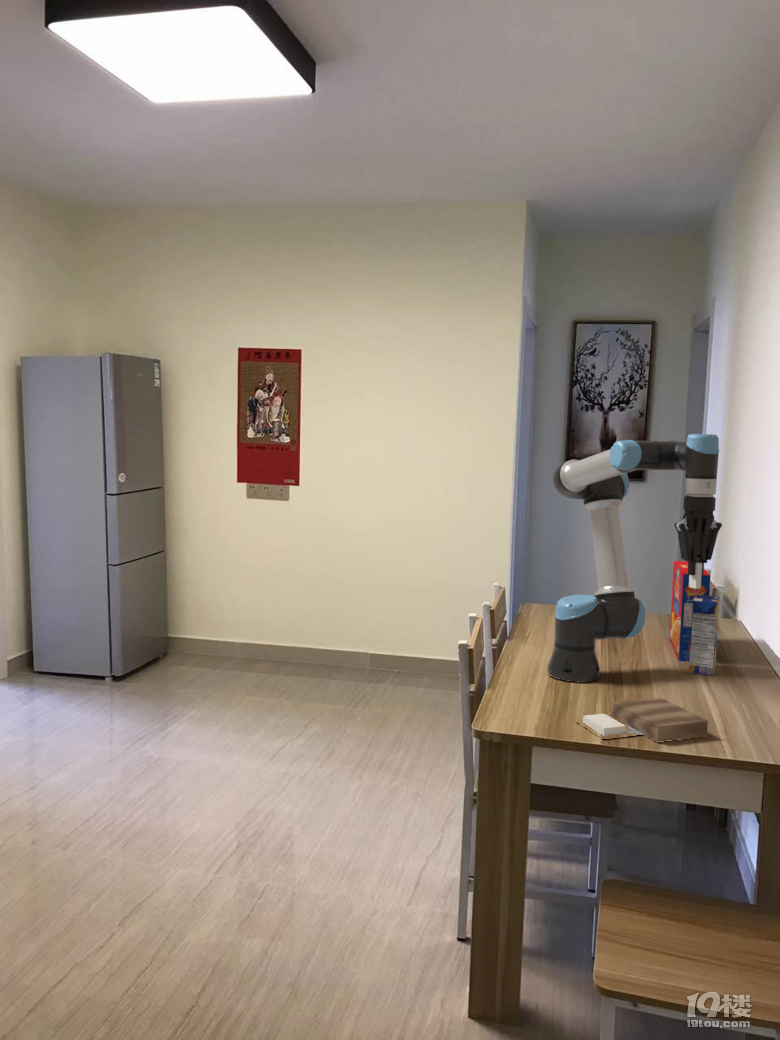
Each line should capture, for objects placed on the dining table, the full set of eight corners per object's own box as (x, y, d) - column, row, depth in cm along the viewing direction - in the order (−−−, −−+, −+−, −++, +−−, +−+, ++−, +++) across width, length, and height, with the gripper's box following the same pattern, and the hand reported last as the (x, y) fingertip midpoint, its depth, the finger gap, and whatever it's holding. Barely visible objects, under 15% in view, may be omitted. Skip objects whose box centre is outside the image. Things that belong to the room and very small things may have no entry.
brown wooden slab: (612, 717, 209) (613, 702, 208) (659, 712, 213) (660, 697, 213) (657, 743, 192) (658, 726, 191) (706, 737, 196) (707, 720, 196)
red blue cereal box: (669, 639, 290) (673, 561, 287) (693, 641, 288) (698, 562, 285) (678, 661, 263) (683, 574, 260) (705, 663, 261) (710, 575, 258)
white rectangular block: (604, 713, 205) (603, 721, 205) (583, 715, 203) (582, 723, 203) (625, 725, 196) (625, 733, 196) (604, 728, 194) (603, 736, 194)
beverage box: (688, 672, 250) (692, 600, 248) (691, 663, 260) (695, 594, 258) (713, 675, 247) (717, 603, 245) (715, 666, 257) (719, 596, 255)
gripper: (688, 496, 203) (683, 591, 206) (731, 496, 207) (725, 589, 210) (668, 494, 210) (663, 586, 213) (710, 494, 214) (705, 584, 217)
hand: (694, 587), depth 211 cm, fingers closed
